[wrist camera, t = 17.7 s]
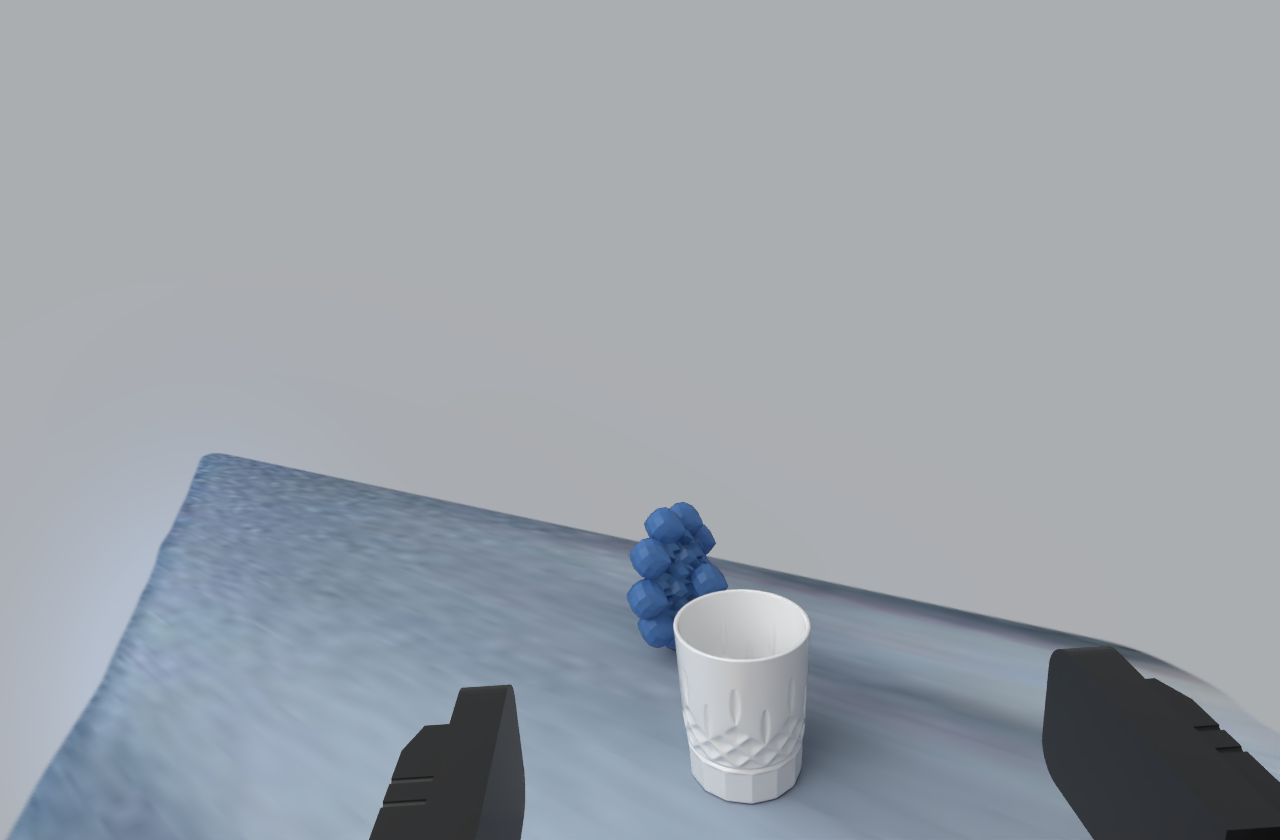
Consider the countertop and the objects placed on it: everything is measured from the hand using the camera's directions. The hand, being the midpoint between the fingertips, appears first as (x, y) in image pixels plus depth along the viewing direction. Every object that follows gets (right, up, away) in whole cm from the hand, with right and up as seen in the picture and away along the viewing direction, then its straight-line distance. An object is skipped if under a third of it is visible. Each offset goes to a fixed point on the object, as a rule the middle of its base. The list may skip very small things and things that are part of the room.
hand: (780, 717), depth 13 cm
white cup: (+4, -17, +39) cm, 43 cm away
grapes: (+2, -13, +52) cm, 54 cm away
